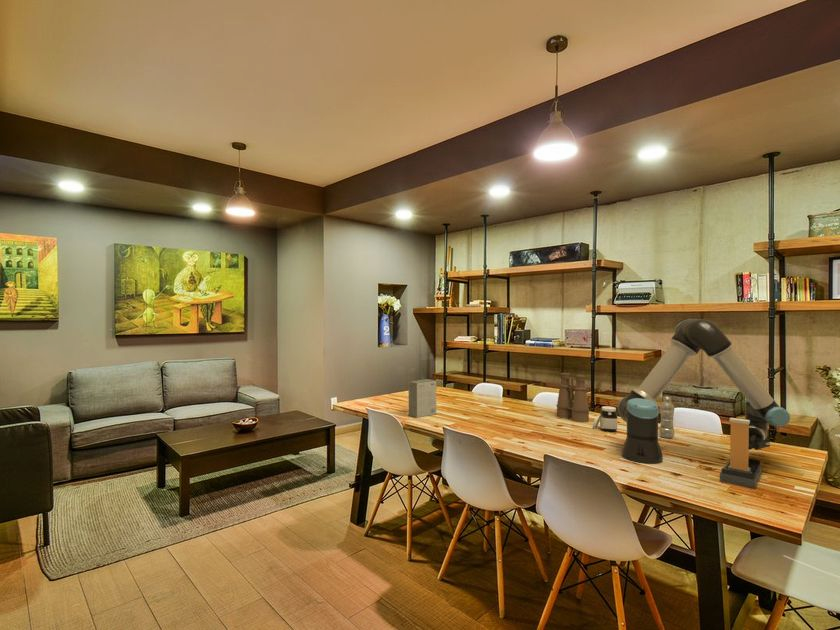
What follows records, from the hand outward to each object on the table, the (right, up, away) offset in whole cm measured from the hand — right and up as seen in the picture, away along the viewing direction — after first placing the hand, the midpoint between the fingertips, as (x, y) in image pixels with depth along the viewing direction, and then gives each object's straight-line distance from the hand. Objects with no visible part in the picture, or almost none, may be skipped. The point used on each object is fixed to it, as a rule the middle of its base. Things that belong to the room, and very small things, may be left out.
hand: (742, 448), depth 166 cm
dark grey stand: (-1, -10, 0) cm, 10 cm away
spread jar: (-23, -10, +68) cm, 73 cm away
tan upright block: (-4, -7, -4) cm, 9 cm away
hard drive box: (-117, -9, +98) cm, 153 cm away
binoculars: (-31, -10, +93) cm, 99 cm away
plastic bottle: (+1, -11, +54) cm, 55 cm away
